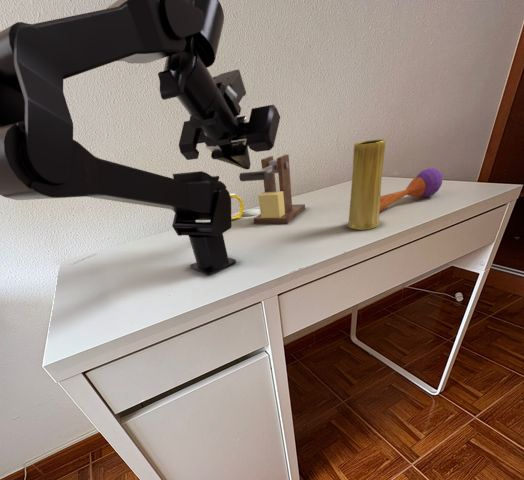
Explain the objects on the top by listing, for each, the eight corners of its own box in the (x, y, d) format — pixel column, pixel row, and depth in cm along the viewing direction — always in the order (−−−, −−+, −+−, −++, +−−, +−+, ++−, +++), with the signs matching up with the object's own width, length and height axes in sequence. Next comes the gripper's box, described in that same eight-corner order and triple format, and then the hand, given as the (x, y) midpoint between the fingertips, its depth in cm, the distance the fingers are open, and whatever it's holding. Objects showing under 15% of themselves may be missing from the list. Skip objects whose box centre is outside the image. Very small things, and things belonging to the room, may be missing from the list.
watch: (227, 222, 76) (222, 197, 73) (222, 221, 78) (217, 196, 75) (246, 216, 79) (242, 192, 75) (241, 215, 80) (237, 191, 77)
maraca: (360, 193, 65) (425, 167, 70) (363, 221, 68) (425, 194, 73) (381, 190, 60) (448, 162, 65) (383, 220, 63) (448, 191, 68)
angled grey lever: (265, 182, 59) (263, 169, 58) (240, 184, 62) (238, 171, 60) (290, 169, 68) (289, 157, 66) (267, 171, 70) (266, 160, 69)
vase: (384, 222, 60) (394, 137, 51) (369, 231, 57) (377, 143, 48) (357, 219, 64) (362, 140, 55) (342, 228, 61) (344, 145, 52)
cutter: (287, 223, 68) (282, 159, 61) (254, 223, 72) (245, 163, 64) (305, 209, 76) (302, 150, 68) (274, 209, 80) (268, 154, 72)
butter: (279, 218, 69) (277, 194, 66) (261, 218, 71) (258, 195, 68) (285, 213, 71) (283, 191, 68) (266, 214, 73) (264, 192, 70)
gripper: (267, 28, 40) (301, 121, 54) (167, 60, 48) (219, 134, 62) (249, 105, 40) (288, 179, 54) (152, 125, 48) (207, 184, 62)
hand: (248, 167), depth 58 cm, fingers closed
